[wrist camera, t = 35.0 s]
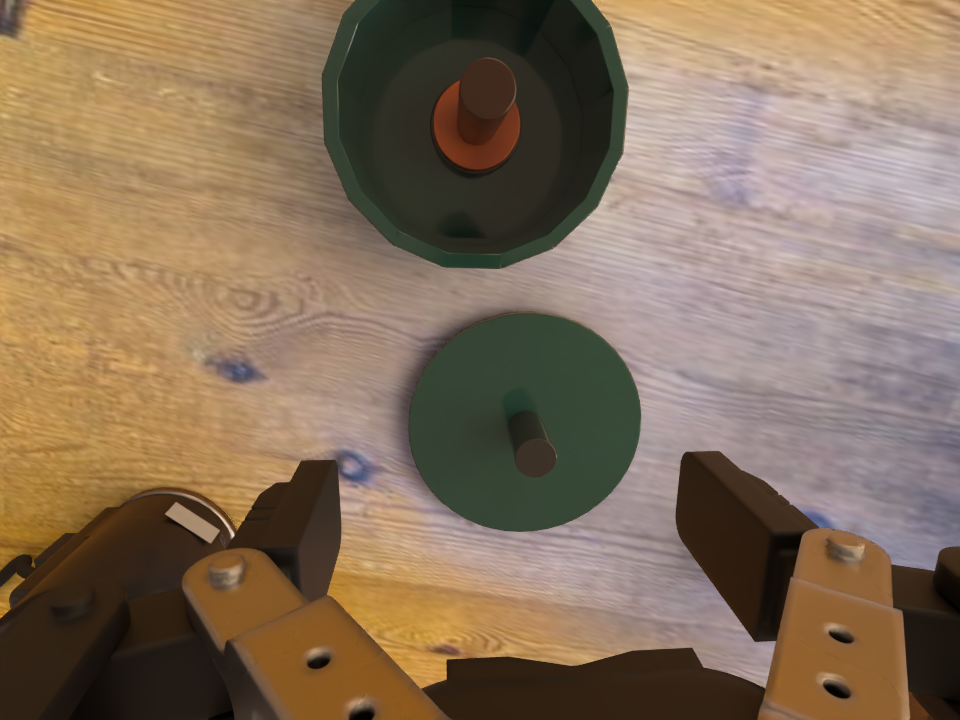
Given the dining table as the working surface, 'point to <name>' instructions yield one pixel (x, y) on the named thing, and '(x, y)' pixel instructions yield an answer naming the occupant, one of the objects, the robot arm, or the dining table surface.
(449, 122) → the brush
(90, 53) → the dining table surface
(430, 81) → the pot
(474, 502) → the lid
